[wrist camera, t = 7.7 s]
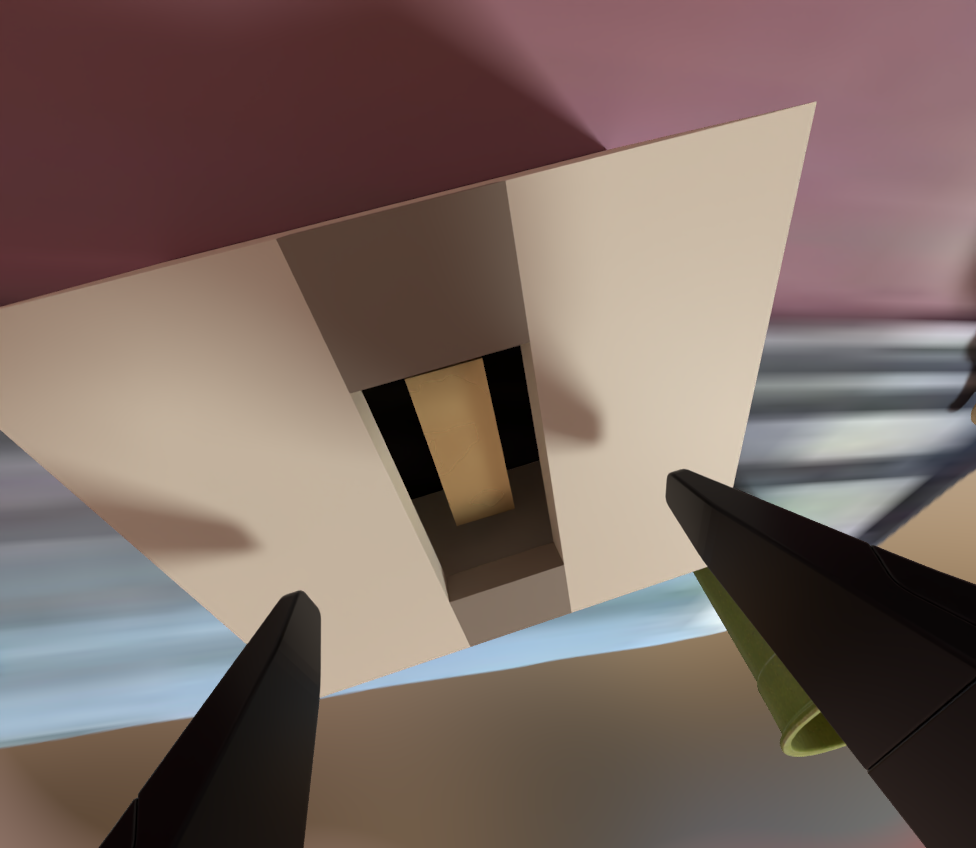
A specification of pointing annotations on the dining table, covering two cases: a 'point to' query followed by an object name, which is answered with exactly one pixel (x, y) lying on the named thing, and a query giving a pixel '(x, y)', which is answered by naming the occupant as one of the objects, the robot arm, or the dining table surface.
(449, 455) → the block
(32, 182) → the dining table surface
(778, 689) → the plant pot
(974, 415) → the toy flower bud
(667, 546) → the box
